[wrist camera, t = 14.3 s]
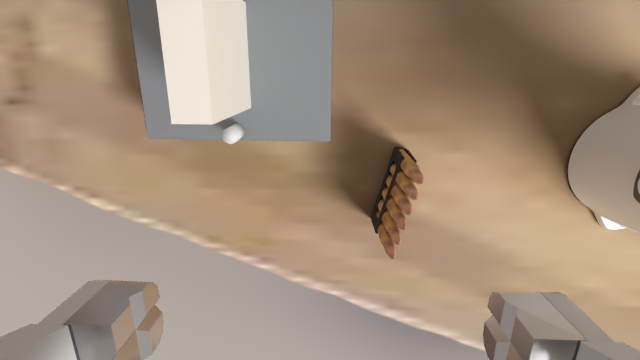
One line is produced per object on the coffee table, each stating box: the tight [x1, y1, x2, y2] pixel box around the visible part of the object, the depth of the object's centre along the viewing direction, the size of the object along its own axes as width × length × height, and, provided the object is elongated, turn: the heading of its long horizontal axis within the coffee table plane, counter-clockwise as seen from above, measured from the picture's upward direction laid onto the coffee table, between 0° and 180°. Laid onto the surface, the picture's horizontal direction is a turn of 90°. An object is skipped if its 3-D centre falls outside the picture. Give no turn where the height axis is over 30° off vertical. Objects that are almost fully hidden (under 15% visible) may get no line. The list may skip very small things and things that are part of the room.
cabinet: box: [127, 0, 333, 144], centre depth 37 cm, size 21×17×11 cm
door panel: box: [156, 0, 251, 125], centre depth 29 cm, size 3×10×12 cm, turn 0°
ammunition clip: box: [371, 147, 424, 259], centre depth 41 cm, size 11×2×12 cm, turn 165°
